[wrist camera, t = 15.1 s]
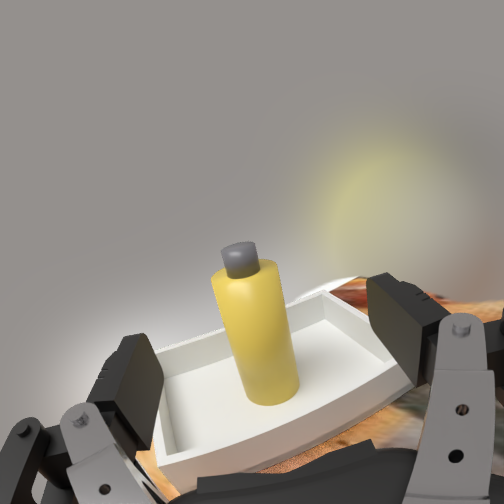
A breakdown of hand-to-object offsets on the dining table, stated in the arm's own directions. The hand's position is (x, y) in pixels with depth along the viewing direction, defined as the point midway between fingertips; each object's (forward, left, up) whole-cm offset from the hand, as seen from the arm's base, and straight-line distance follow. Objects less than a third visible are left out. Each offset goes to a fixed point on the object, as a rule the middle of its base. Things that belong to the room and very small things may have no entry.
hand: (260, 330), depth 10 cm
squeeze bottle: (-3, -13, -15) cm, 20 cm away
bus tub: (-3, -13, -16) cm, 21 cm away
